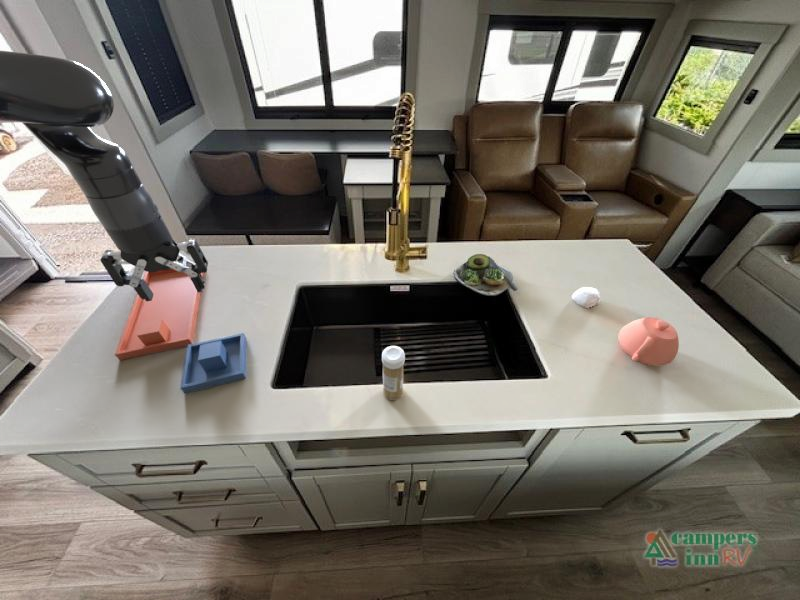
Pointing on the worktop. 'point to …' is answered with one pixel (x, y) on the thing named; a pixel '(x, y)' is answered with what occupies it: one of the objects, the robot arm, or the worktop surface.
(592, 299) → the garlic
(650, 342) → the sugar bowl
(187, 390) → the slate-blue tray
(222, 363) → the slate-blue block
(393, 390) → the sprinkles bottle
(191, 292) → the terracotta tray
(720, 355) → the worktop surface
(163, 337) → the terracotta block
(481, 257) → the avocado toast plate
